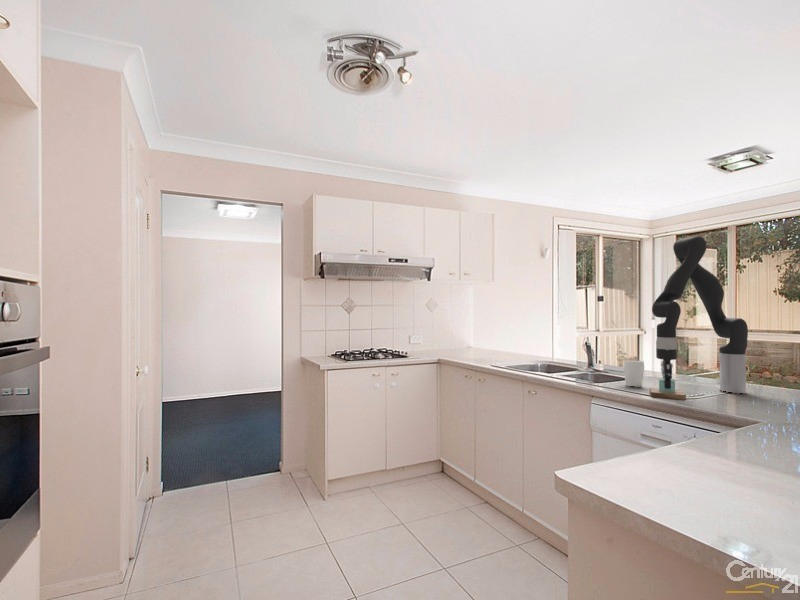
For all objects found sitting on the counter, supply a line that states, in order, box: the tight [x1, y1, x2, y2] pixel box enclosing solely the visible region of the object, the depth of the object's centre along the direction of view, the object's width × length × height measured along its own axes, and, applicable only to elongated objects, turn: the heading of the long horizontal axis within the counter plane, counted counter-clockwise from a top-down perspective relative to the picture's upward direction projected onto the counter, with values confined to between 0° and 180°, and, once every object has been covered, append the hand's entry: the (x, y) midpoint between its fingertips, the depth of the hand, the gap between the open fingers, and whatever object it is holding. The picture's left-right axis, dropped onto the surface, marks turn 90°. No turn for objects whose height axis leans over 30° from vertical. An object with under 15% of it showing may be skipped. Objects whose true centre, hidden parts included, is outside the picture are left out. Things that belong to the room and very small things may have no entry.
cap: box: [658, 377, 676, 393], centre depth 177 cm, size 6×6×5 cm
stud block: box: [649, 387, 687, 401], centre depth 177 cm, size 12×12×6 cm
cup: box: [622, 359, 645, 388], centre depth 202 cm, size 9×9×12 cm
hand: (666, 386), depth 177 cm, fingers open, 6 cm apart
